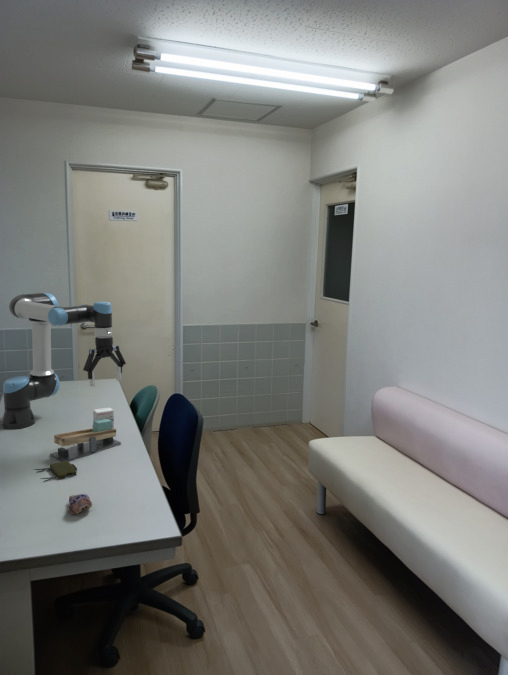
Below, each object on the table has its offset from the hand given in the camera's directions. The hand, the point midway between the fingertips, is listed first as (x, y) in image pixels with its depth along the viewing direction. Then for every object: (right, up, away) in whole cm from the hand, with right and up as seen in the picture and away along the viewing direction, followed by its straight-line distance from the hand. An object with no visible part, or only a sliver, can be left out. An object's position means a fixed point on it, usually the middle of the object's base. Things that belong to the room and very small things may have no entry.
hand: (105, 383), depth 228 cm
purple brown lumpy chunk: (+7, -38, -56) cm, 68 cm away
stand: (-7, -29, -6) cm, 30 cm away
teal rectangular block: (-1, -22, -1) cm, 22 cm away
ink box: (-5, -25, +14) cm, 30 cm away
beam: (-6, -23, -7) cm, 25 cm away
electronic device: (-11, -33, -29) cm, 46 cm away
